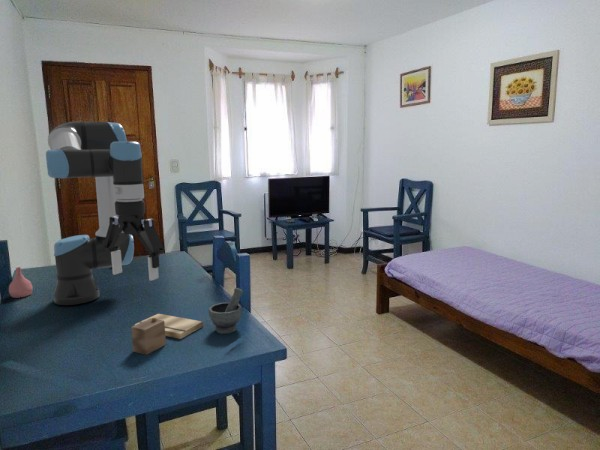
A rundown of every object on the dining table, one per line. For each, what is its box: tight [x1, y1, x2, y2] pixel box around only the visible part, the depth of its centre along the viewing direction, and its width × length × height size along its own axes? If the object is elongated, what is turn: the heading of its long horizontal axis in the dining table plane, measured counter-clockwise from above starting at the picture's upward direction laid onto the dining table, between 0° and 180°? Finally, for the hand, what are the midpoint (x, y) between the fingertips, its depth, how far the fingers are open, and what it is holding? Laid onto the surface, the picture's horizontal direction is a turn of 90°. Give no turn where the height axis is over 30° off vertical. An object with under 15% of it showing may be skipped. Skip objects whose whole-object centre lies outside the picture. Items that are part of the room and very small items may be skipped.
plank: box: [134, 313, 204, 340], centre depth 129 cm, size 18×10×2 cm, turn 64°
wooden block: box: [130, 317, 167, 355], centre depth 115 cm, size 5×7×8 cm
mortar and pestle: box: [208, 287, 244, 335], centre depth 127 cm, size 11×9×12 cm
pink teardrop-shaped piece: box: [8, 266, 33, 299], centre depth 161 cm, size 8×8×12 cm
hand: (135, 276), depth 117 cm, fingers open, 13 cm apart
